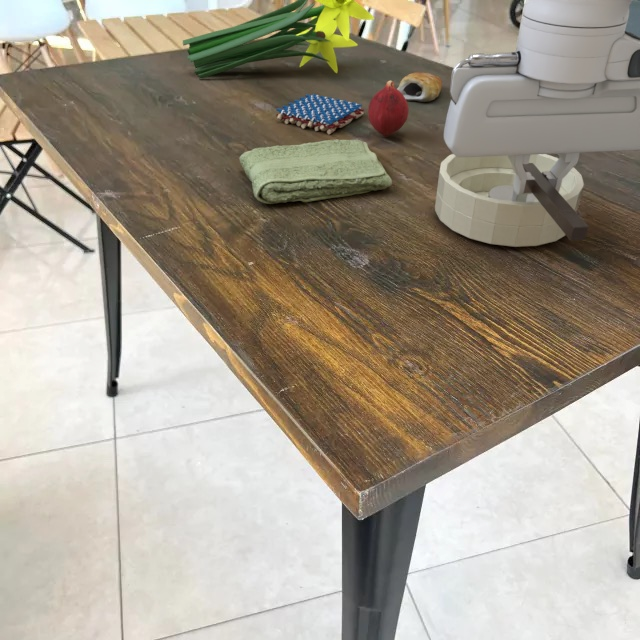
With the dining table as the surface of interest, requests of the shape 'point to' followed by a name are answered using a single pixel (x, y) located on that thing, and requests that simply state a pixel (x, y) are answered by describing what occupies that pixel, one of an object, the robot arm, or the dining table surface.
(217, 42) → the daffodil flowers
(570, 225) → the ladle
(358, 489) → the dining table surface
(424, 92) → the pastry
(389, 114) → the onion
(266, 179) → the washcloth
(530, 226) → the bowl
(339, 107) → the woven mat
